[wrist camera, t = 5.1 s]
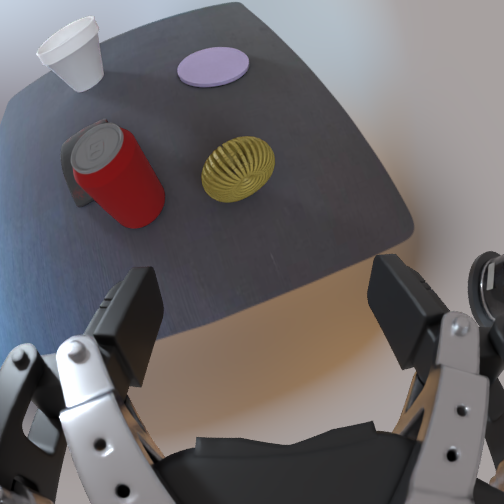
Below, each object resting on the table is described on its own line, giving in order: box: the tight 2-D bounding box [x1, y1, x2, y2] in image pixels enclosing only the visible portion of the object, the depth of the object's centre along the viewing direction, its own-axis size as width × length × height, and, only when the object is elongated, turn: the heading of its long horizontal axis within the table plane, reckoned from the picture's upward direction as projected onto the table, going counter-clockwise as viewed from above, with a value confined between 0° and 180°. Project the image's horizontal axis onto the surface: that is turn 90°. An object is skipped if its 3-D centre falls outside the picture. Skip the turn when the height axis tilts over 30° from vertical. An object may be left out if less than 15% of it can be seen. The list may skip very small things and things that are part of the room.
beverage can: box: [71, 123, 165, 228], centre depth 25 cm, size 7×7×12 cm
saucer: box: [177, 47, 249, 87], centre depth 38 cm, size 12×12×1 cm
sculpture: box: [201, 136, 275, 202], centre depth 28 cm, size 8×4×8 cm, turn 122°
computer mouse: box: [61, 119, 108, 207], centre depth 32 cm, size 8×14×4 cm, turn 24°
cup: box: [37, 16, 104, 92], centre depth 34 cm, size 12×12×14 cm
